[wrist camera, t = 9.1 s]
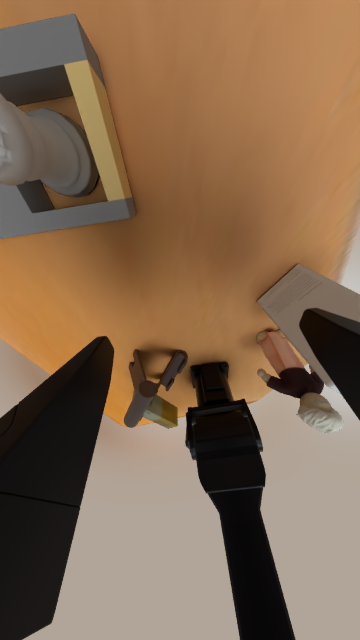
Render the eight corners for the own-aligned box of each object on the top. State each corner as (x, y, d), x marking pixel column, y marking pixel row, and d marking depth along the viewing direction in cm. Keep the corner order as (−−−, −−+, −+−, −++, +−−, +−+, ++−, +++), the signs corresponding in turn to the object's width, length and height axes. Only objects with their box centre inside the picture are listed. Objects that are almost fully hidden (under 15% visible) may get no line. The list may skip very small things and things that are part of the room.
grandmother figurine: (295, 321, 24) (387, 416, 14) (291, 339, 26) (368, 432, 16) (241, 334, 25) (289, 431, 15) (242, 350, 27) (285, 444, 17)
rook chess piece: (111, 183, 13) (60, 176, 7) (66, 206, 14) (-17, 218, 8) (72, 99, 11) (-67, -29, 4) (19, 133, 12) (-163, 64, 5)
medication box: (132, 389, 33) (128, 411, 30) (143, 385, 32) (140, 407, 29) (168, 410, 39) (168, 429, 36) (178, 407, 38) (178, 426, 35)
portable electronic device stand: (168, 381, 31) (168, 431, 25) (126, 373, 29) (113, 426, 23) (187, 351, 27) (193, 404, 20) (138, 339, 24) (126, 394, 18)
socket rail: (136, 213, 15) (130, 218, 12) (-34, 240, 15) (-70, 249, 13) (97, 55, 10) (74, 13, 8) (-150, 104, 10) (-243, 79, 8)
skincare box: (274, 315, 23) (351, 404, 13) (253, 299, 21) (323, 390, 12) (318, 279, 20) (457, 363, 10) (298, 258, 18) (442, 334, 9)
